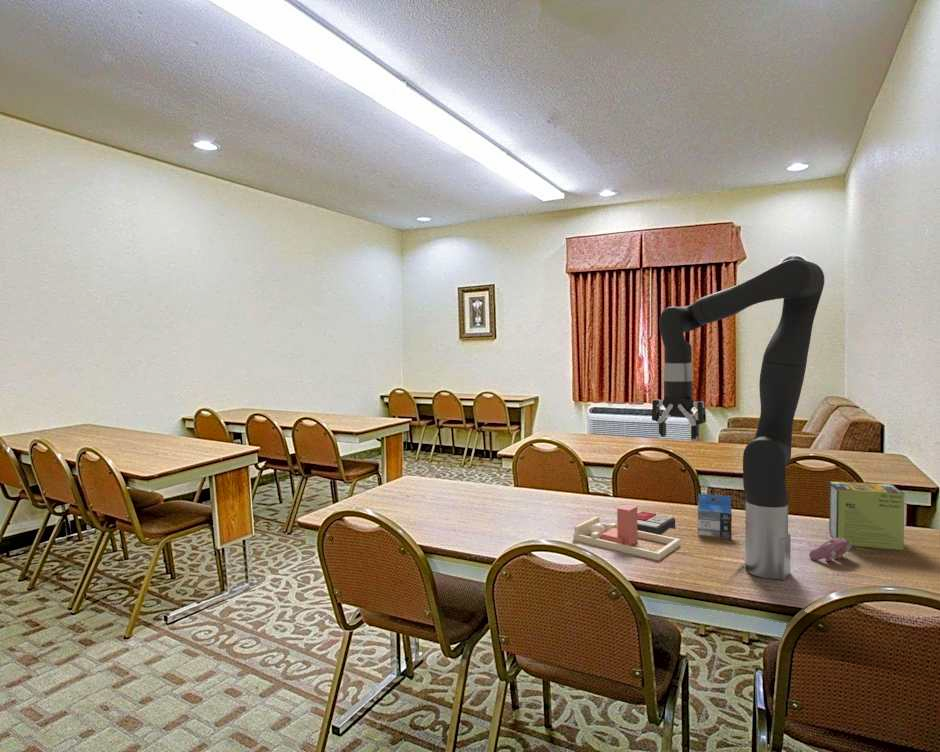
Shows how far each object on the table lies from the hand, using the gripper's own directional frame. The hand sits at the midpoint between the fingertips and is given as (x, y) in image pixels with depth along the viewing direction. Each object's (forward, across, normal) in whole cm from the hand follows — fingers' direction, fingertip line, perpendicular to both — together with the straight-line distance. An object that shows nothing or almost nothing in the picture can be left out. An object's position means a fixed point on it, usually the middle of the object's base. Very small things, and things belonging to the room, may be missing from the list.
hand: (678, 437), depth 158 cm
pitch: (+30, +10, +11) cm, 34 cm away
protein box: (+30, -39, -34) cm, 60 cm away
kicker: (+29, +12, +11) cm, 33 cm away
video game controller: (+30, -34, -13) cm, 48 cm away
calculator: (+31, +12, -7) cm, 34 cm away
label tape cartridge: (+30, -6, -11) cm, 33 cm away
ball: (+27, +19, +11) cm, 35 cm away
